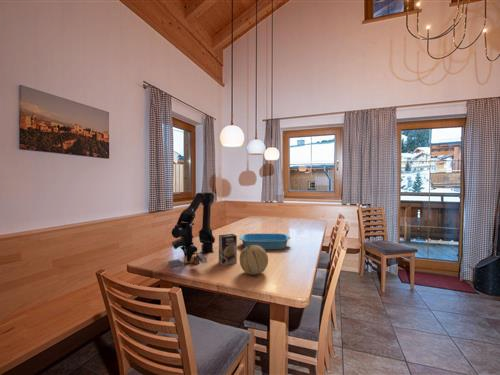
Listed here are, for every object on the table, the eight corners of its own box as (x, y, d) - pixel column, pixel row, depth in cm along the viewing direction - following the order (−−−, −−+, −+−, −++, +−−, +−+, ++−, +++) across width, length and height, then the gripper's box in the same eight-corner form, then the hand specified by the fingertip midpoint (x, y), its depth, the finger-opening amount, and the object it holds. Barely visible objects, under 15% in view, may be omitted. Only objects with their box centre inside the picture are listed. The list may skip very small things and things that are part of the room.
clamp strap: (200, 257, 132) (200, 252, 132) (206, 262, 123) (206, 258, 123) (196, 257, 131) (196, 253, 131) (202, 263, 122) (202, 259, 122)
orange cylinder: (198, 259, 141) (198, 253, 141) (200, 261, 138) (200, 254, 138) (183, 262, 137) (183, 255, 137) (185, 264, 133) (185, 257, 133)
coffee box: (222, 265, 131) (222, 237, 130) (218, 262, 137) (218, 234, 136) (237, 263, 135) (237, 235, 135) (232, 259, 141) (232, 233, 140)
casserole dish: (237, 250, 160) (237, 240, 160) (240, 241, 182) (240, 232, 182) (292, 251, 158) (292, 240, 158) (288, 242, 180) (288, 233, 180)
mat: (179, 260, 140) (179, 259, 140) (183, 265, 132) (183, 264, 132) (168, 262, 137) (168, 260, 137) (172, 267, 129) (172, 266, 129)
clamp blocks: (194, 258, 143) (194, 252, 142) (199, 263, 134) (199, 256, 134) (190, 259, 141) (190, 252, 141) (195, 264, 133) (195, 257, 133)
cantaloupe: (274, 273, 120) (274, 244, 120) (254, 282, 110) (253, 250, 109) (253, 265, 131) (253, 239, 130) (233, 273, 120) (233, 244, 120)
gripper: (169, 232, 139) (169, 258, 140) (176, 239, 123) (177, 268, 124) (188, 230, 145) (188, 255, 145) (197, 236, 129) (197, 264, 129)
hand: (187, 260), depth 136 cm, fingers closed on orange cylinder, 4 cm apart
